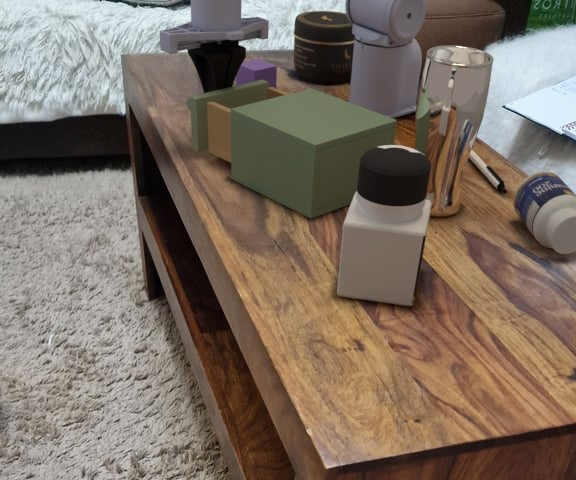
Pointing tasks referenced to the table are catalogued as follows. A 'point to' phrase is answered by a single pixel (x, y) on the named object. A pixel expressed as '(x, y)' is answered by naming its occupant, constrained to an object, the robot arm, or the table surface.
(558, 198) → the pill bottle
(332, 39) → the jar
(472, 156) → the pen
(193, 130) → the drawer
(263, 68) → the cube
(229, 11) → the robot arm
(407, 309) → the table surface
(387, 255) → the medicine bottle
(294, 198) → the cabinet
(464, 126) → the beer glass
